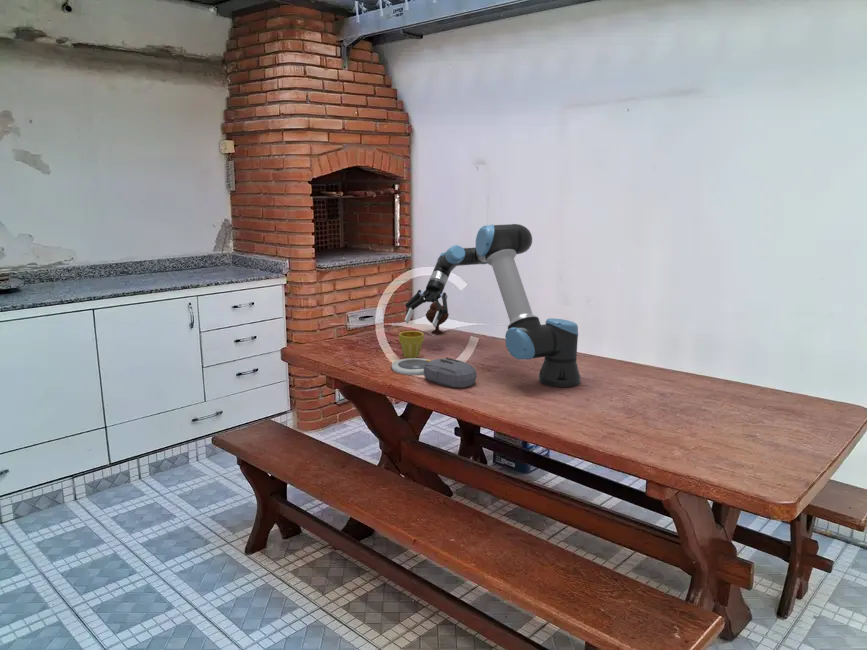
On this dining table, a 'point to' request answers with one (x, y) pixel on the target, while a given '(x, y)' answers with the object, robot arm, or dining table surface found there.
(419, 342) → the plant pot
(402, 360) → the base
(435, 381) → the soft grey pack
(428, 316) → the ice cream bowl
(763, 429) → the dining table surface
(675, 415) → the dining table surface
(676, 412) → the dining table surface
